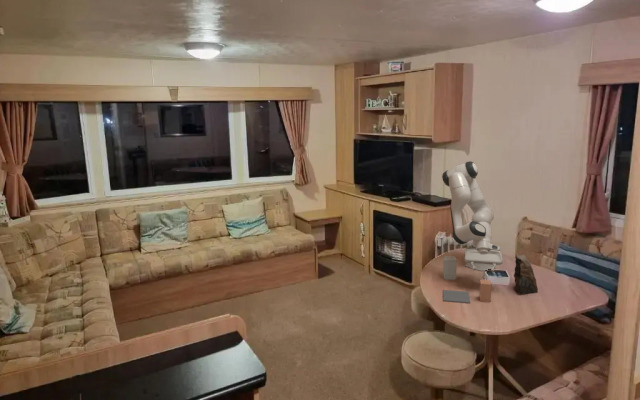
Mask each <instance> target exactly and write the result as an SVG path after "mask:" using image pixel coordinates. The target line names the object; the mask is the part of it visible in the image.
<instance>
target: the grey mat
mask: <svg viewBox="0 0 640 400" xmlns="http://www.w3.org/2000/svg"><path fill="white" fill-rule="evenodd" d="M442 301H443V302H448V303H449V302H450V303H458V304H459V303H461V304H471V299H470V292H469V291H465V290H463V291H462V290H451V289H449V290H448V289H442Z"/></svg>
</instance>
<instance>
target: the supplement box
mask: <svg viewBox="0 0 640 400" xmlns="http://www.w3.org/2000/svg"><path fill="white" fill-rule="evenodd" d="M442 262H443V263H442V264H443V265H442V266H443V267H442V276H443V279H444V280H449V281H456V280H457V267H458V266H457V263H458V260H457V258H456V256H445V255H444V256H443V261H442Z"/></svg>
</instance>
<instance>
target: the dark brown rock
mask: <svg viewBox="0 0 640 400" xmlns="http://www.w3.org/2000/svg"><path fill="white" fill-rule="evenodd" d="M514 262H515V267H514V274H513V277H514V285H515V286H514V292H515V293H517V294H519V295H520V296H521V295H523V296H524V295H530V294H536V293H539V292H538V289H539V288H538V285H537V279H536V276H535V273H534V268H533V267H532V264H531V262H530V260H529V259H528V258H527V256H526V255H525V254H524V253H521V254H517V255H516V256H515V260H514Z"/></svg>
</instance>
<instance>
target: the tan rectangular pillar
mask: <svg viewBox="0 0 640 400" xmlns="http://www.w3.org/2000/svg"><path fill="white" fill-rule="evenodd" d="M492 285H493V284H492V281H491V280H486V279H480V280H479V293H478V294H479V295H478V297H479V301H481V302H489V303H490V302H491V300H492Z"/></svg>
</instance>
